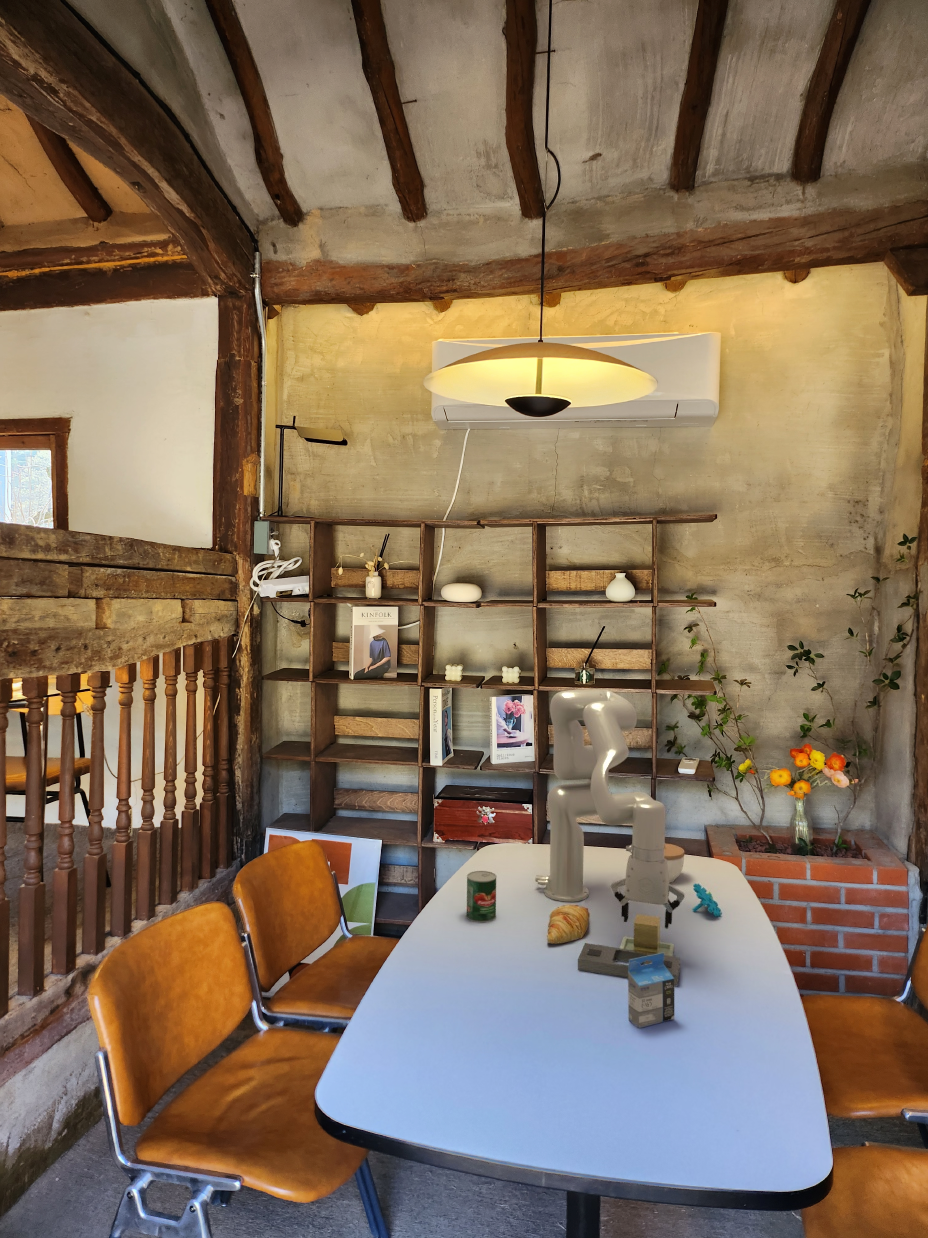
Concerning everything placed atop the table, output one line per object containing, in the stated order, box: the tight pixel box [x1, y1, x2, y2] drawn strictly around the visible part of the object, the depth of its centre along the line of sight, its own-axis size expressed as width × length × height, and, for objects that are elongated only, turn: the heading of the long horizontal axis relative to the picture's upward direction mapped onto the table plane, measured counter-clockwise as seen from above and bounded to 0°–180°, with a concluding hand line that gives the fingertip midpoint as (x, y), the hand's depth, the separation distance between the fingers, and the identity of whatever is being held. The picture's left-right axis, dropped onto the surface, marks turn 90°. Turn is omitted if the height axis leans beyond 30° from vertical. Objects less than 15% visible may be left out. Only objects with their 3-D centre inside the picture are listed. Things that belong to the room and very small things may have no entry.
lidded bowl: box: [664, 842, 685, 884], centre depth 239 cm, size 13×13×11 cm
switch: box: [577, 942, 681, 987], centre depth 180 cm, size 22×9×3 cm, turn 71°
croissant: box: [546, 904, 590, 945], centre depth 200 cm, size 21×10×8 cm, turn 148°
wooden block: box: [633, 913, 661, 954], centre depth 188 cm, size 6×6×8 cm
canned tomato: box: [466, 870, 497, 924], centre depth 209 cm, size 8×8×11 cm
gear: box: [692, 883, 722, 917], centre depth 214 cm, size 11×6×10 cm
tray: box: [619, 936, 675, 957], centre depth 188 cm, size 12×8×2 cm, turn 71°
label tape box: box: [627, 953, 675, 1029], centre depth 158 cm, size 9×4×12 cm, turn 114°
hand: (646, 923), depth 188 cm, fingers open, 9 cm apart
